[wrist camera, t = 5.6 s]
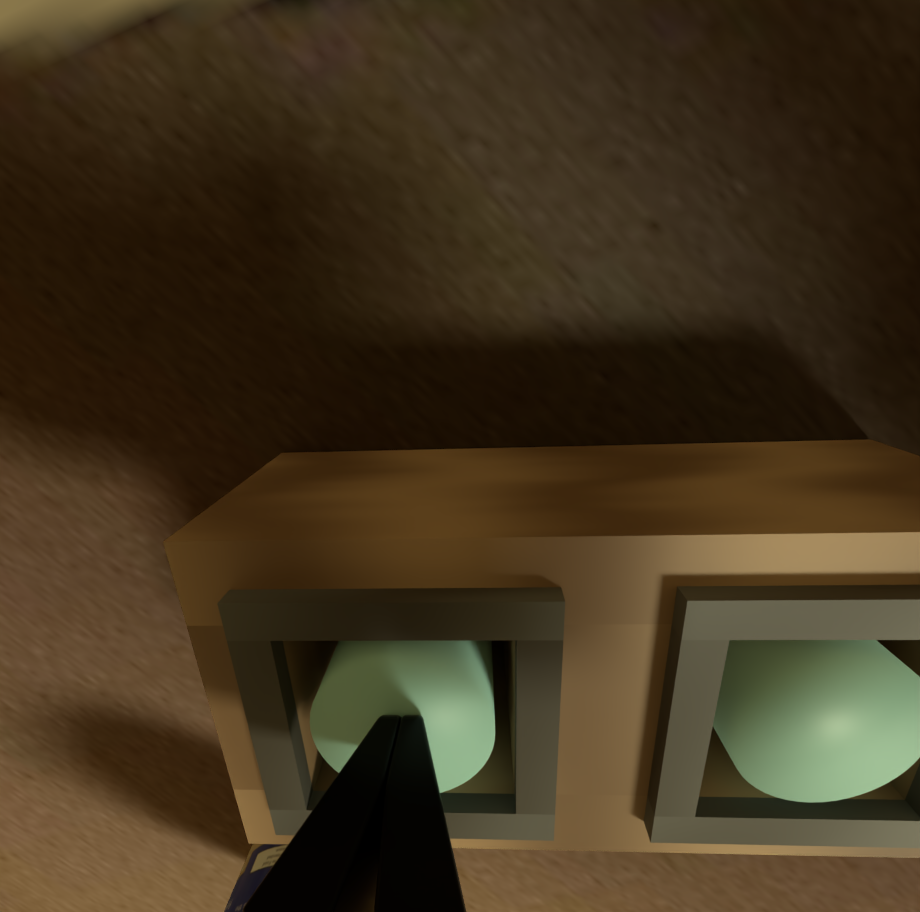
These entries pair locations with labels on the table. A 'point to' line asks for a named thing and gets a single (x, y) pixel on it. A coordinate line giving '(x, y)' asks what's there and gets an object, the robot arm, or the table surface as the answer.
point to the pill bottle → (253, 873)
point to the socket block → (560, 625)
